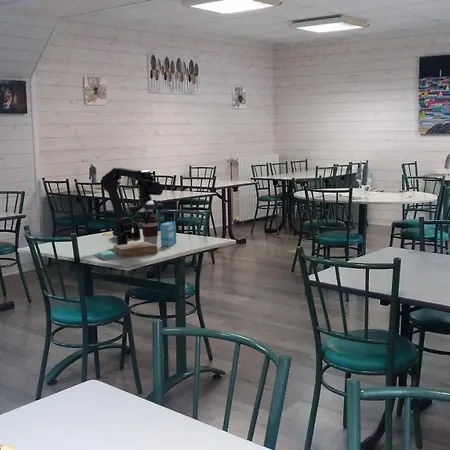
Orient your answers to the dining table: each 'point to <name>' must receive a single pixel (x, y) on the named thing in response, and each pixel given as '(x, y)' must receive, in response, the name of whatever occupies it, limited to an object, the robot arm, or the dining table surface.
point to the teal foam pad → (106, 254)
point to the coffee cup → (150, 230)
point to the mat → (111, 258)
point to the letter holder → (134, 232)
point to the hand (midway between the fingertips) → (146, 224)
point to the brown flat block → (135, 249)
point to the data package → (168, 234)
